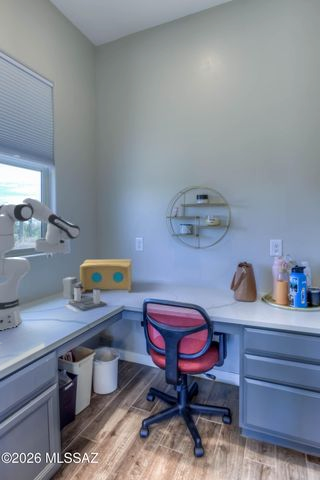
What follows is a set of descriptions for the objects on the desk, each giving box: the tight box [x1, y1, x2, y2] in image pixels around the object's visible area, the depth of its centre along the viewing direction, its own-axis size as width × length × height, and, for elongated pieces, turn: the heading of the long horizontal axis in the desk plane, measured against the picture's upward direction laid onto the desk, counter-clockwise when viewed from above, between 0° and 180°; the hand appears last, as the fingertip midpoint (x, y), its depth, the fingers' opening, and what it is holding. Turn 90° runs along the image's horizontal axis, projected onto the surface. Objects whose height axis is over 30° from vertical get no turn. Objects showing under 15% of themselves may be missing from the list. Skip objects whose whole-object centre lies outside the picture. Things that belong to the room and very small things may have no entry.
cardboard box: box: [79, 258, 133, 294], centre depth 234 cm, size 40×26×24 cm, turn 93°
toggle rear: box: [73, 285, 82, 302], centre depth 196 cm, size 3×4×11 cm
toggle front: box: [92, 287, 101, 304], centre depth 191 cm, size 3×4×11 cm
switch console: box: [63, 295, 108, 313], centre depth 193 cm, size 22×22×3 cm
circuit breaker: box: [62, 276, 83, 300], centre depth 211 cm, size 8×14×15 cm, turn 78°
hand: (49, 257), depth 192 cm, fingers closed
